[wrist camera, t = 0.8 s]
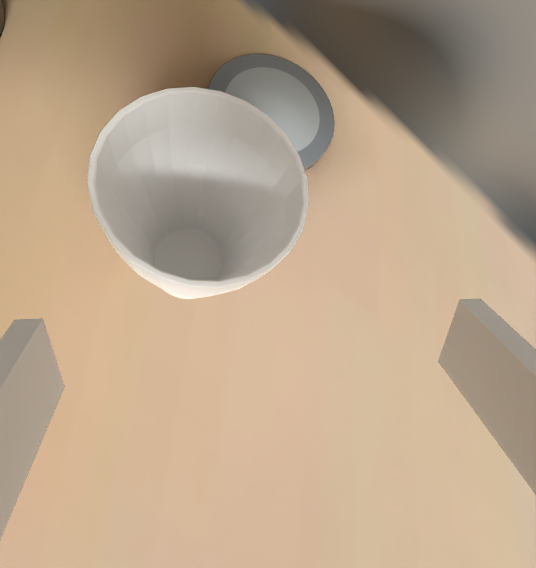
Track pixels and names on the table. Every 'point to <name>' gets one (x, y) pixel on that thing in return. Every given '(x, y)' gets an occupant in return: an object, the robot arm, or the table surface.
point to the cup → (197, 190)
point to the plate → (282, 99)
